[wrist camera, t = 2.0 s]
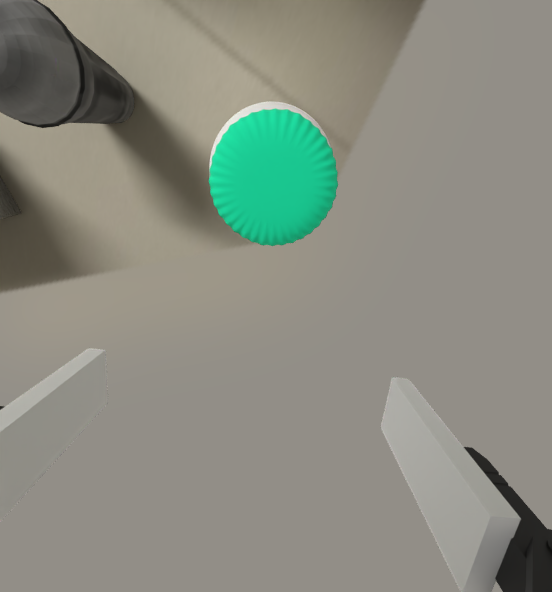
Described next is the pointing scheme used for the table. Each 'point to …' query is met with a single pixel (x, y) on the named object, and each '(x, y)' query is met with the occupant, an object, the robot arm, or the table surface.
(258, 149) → the water bottle
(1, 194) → the sleeve
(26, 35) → the beverage cup
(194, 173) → the table surface
